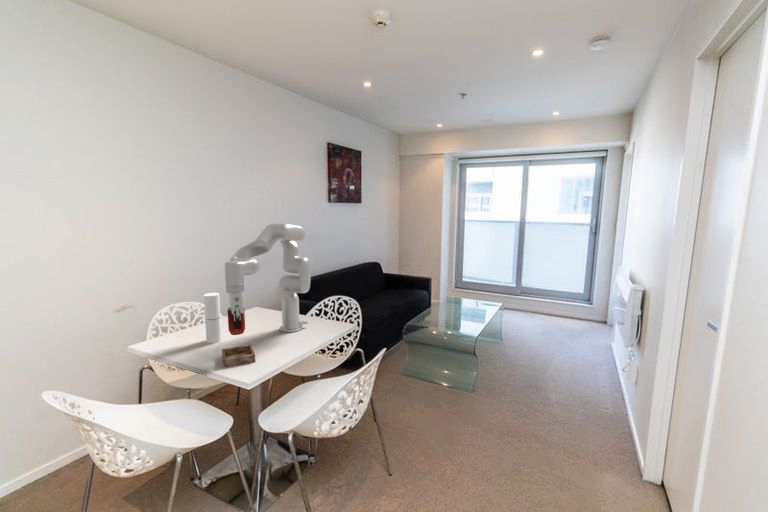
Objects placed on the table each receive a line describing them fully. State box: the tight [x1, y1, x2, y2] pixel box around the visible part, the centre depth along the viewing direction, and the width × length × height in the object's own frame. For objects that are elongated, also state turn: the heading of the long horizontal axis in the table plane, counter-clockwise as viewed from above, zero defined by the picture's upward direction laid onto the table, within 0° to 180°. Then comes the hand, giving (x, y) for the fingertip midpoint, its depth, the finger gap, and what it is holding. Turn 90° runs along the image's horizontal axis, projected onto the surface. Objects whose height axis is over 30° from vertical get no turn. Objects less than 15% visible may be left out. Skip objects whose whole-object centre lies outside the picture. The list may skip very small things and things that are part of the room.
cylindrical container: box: [203, 292, 223, 344], centre depth 177 cm, size 7×7×25 cm
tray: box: [221, 344, 256, 368], centre depth 157 cm, size 13×13×4 cm
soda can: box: [226, 306, 246, 336], centre depth 155 cm, size 7×7×12 cm
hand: (236, 325), depth 155 cm, fingers closed on soda can, 7 cm apart
